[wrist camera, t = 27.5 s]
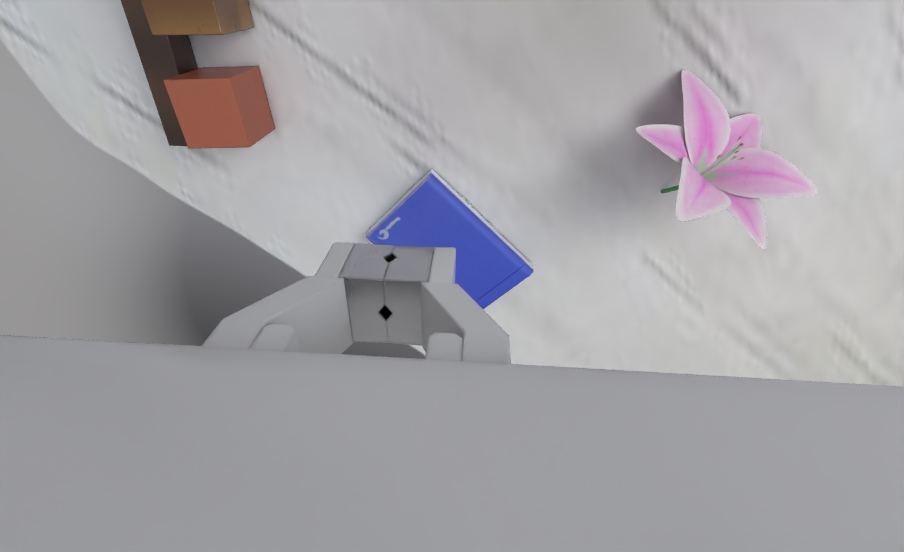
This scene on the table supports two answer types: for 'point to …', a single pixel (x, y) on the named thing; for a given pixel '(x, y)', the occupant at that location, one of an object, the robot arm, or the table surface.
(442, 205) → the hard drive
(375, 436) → the robot arm
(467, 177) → the table surface
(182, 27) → the oak block
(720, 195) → the lily
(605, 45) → the table surface
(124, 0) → the straightedge
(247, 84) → the terracotta block
